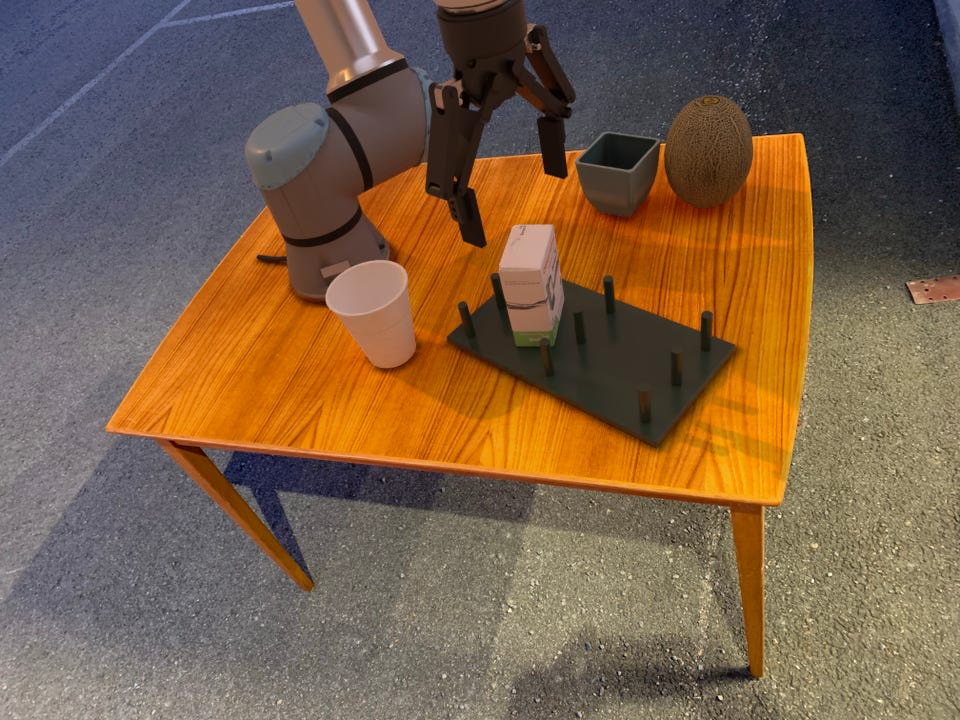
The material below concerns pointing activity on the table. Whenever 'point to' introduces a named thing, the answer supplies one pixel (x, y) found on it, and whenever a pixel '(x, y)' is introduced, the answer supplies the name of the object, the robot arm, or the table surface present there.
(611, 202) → the flower pot
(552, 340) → the ink box
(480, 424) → the table surface
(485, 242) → the robot arm
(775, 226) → the table surface
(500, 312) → the dish rack
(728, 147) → the fruit
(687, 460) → the table surface
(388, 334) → the cup
